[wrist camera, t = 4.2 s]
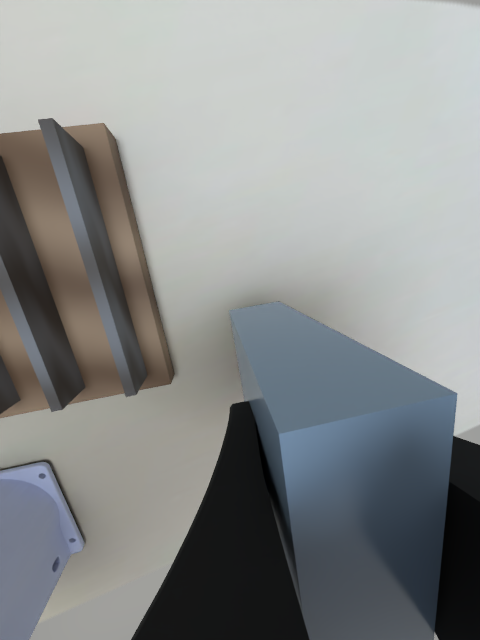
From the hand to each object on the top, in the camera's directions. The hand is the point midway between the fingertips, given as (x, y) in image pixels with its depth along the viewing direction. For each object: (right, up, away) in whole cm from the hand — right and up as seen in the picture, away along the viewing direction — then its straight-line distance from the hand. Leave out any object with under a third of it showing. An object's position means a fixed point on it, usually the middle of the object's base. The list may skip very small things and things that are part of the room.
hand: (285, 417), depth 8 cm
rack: (-16, +6, +7) cm, 18 cm away
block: (0, +1, +3) cm, 3 cm away
